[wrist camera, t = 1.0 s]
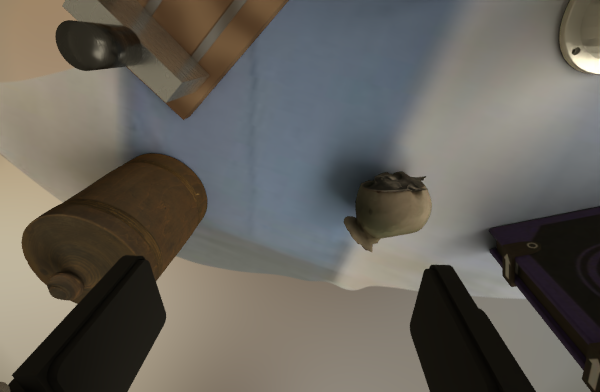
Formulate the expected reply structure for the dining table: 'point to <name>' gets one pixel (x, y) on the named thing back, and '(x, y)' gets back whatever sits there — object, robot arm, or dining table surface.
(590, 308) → the book
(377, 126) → the dining table surface
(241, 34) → the base
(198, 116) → the dining table surface
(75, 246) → the wooden container
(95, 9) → the sliding jaw
